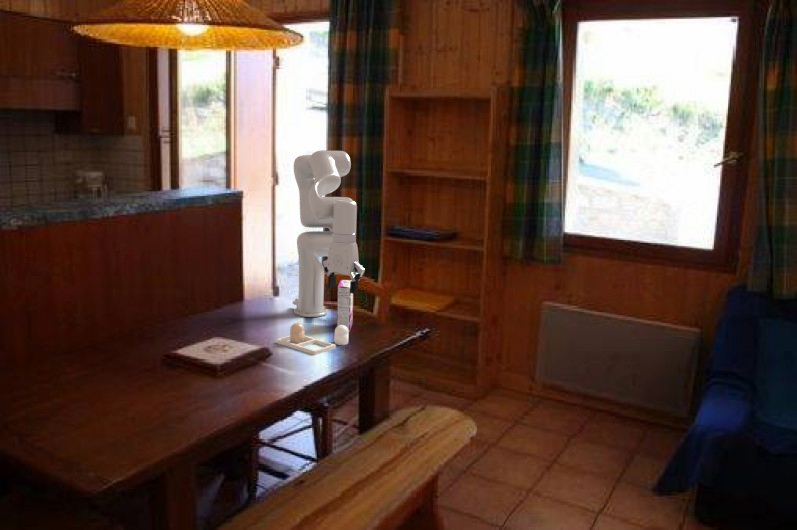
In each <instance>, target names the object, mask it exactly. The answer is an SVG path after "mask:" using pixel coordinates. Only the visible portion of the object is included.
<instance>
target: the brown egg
mask: <svg viewBox="0 0 797 530" xmlns="http://www.w3.org/2000/svg"><path fill="white" fill-rule="evenodd" d="M289 333H290V334H289V336H290V340H289V342H290V343H293V344H299V343H303V342H305V340H304V335H305V327H304V325H303V324H302V323H300V322H295V323H293V324H292V325H291V326H290V329H289Z"/></svg>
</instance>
